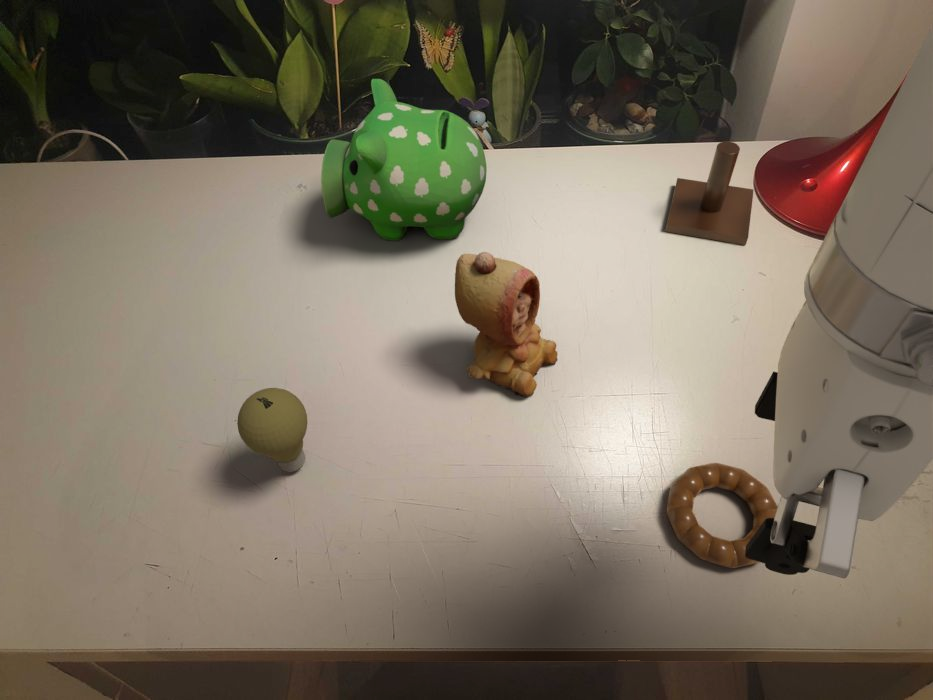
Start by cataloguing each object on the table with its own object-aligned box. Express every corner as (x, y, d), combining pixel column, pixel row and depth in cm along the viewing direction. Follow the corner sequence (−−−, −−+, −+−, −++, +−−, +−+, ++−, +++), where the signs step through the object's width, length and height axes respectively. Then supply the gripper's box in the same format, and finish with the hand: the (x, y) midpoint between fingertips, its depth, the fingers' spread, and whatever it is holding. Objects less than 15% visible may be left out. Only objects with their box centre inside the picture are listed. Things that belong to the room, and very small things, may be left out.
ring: (778, 486, 56) (786, 475, 55) (773, 584, 51) (781, 575, 50) (673, 459, 58) (678, 448, 57) (658, 551, 53) (662, 541, 52)
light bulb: (333, 442, 62) (307, 378, 54) (312, 496, 58) (282, 436, 50) (278, 433, 63) (244, 369, 55) (254, 485, 59) (215, 426, 51)
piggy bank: (351, 184, 86) (325, 75, 75) (489, 181, 85) (485, 70, 73) (332, 259, 77) (300, 149, 66) (487, 257, 76) (482, 144, 64)
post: (751, 197, 80) (774, 130, 73) (745, 245, 75) (769, 178, 68) (675, 185, 82) (690, 119, 75) (664, 231, 77) (680, 165, 70)
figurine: (528, 415, 62) (491, 297, 52) (462, 396, 66) (417, 283, 56) (571, 343, 67) (545, 223, 57) (508, 329, 71) (474, 215, 61)
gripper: (1081, 501, 20) (849, 652, 33) (992, 166, 30) (841, 385, 43) (816, 440, 22) (696, 607, 35) (816, 142, 32) (723, 360, 45)
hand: (776, 484), depth 39 cm, fingers open, 9 cm apart
